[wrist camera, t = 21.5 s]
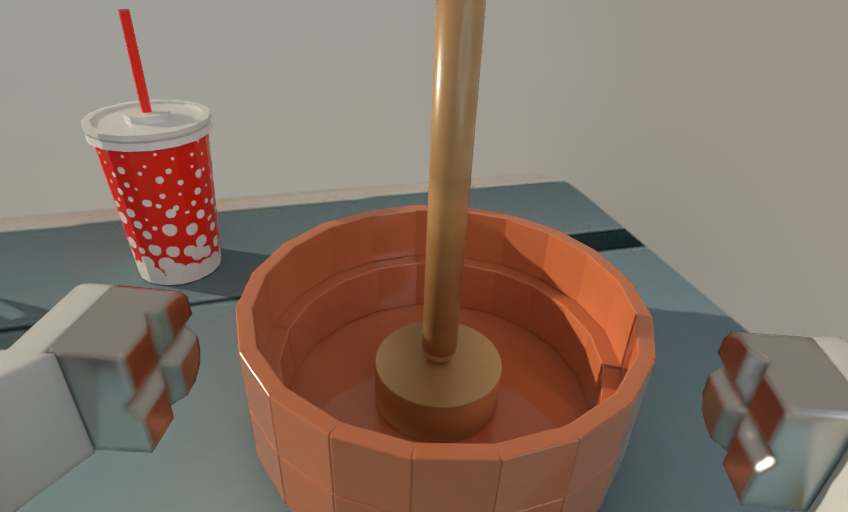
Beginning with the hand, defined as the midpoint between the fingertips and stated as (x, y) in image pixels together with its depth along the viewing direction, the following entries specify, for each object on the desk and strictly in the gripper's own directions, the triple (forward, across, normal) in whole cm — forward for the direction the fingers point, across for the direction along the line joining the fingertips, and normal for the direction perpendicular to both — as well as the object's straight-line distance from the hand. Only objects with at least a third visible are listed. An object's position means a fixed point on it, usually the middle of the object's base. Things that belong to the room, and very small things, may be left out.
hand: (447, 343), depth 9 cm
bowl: (+11, 0, +13) cm, 17 cm away
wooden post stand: (+11, 0, +12) cm, 16 cm away
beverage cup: (+20, +16, +13) cm, 29 cm away
